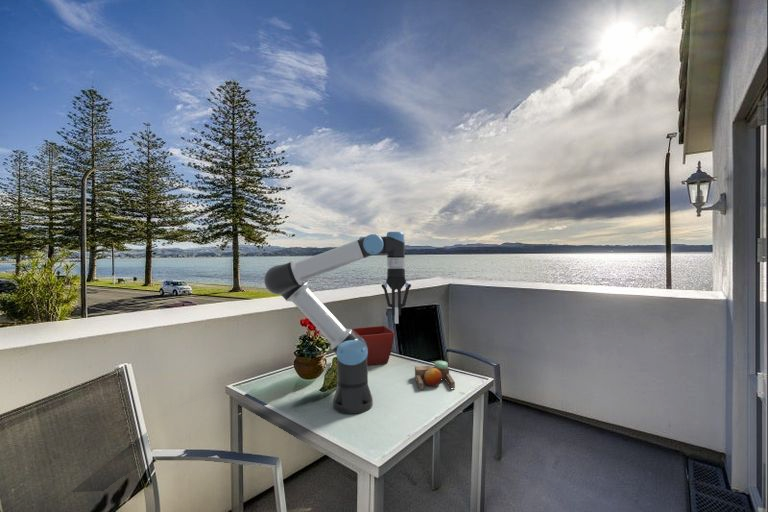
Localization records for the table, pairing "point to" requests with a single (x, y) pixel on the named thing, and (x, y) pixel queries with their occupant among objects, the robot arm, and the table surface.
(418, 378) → the brown wooden u shape
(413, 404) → the table surface
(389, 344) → the plant pot
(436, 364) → the button
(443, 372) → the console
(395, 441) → the table surface
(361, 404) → the robot arm
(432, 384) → the fruit
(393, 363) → the table surface
